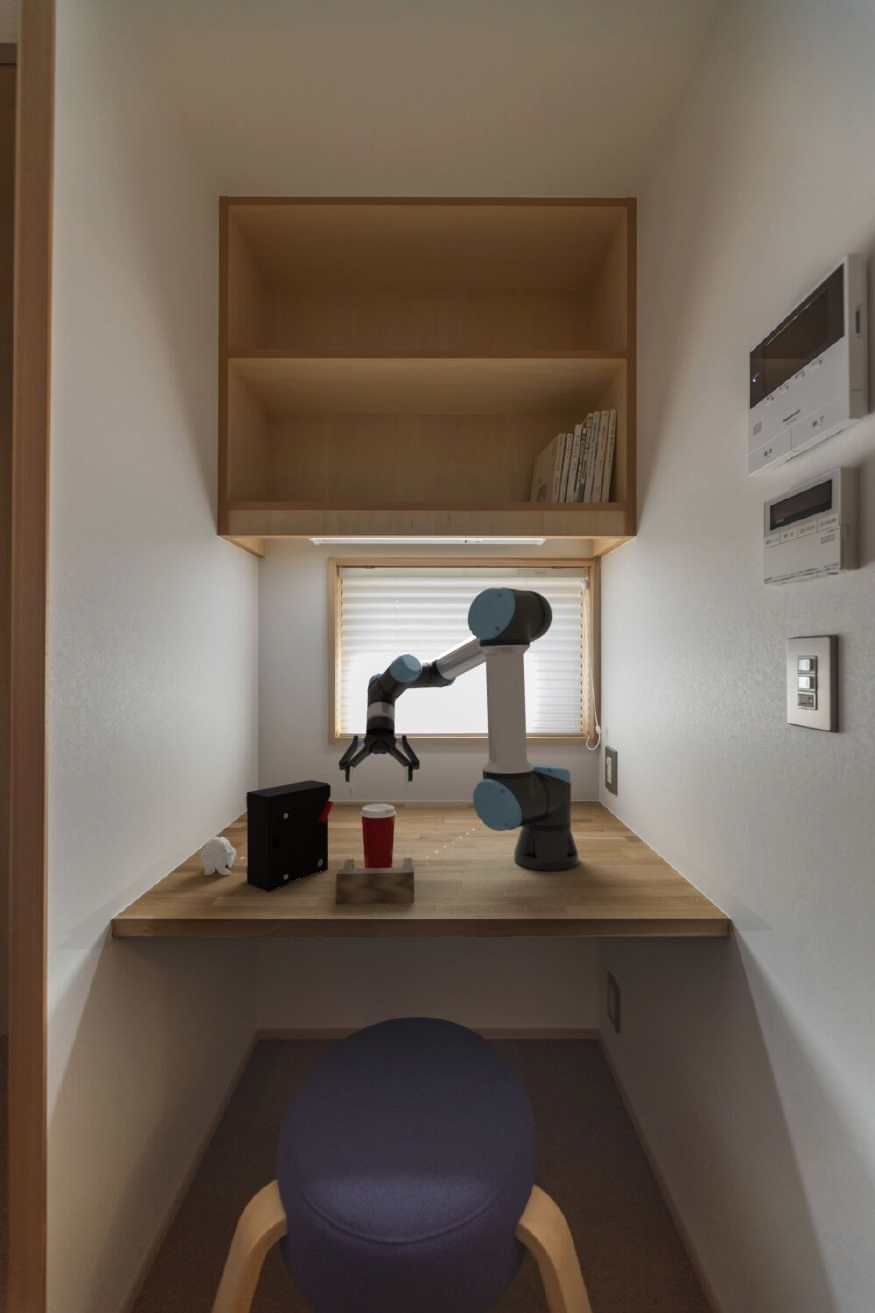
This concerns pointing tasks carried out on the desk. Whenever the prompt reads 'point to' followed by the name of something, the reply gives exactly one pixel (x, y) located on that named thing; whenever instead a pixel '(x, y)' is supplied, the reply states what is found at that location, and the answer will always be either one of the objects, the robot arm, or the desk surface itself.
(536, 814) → the robot arm
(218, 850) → the white figurine
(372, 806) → the coffee cup
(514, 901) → the desk surface
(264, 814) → the electrical component
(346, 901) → the guide channel
